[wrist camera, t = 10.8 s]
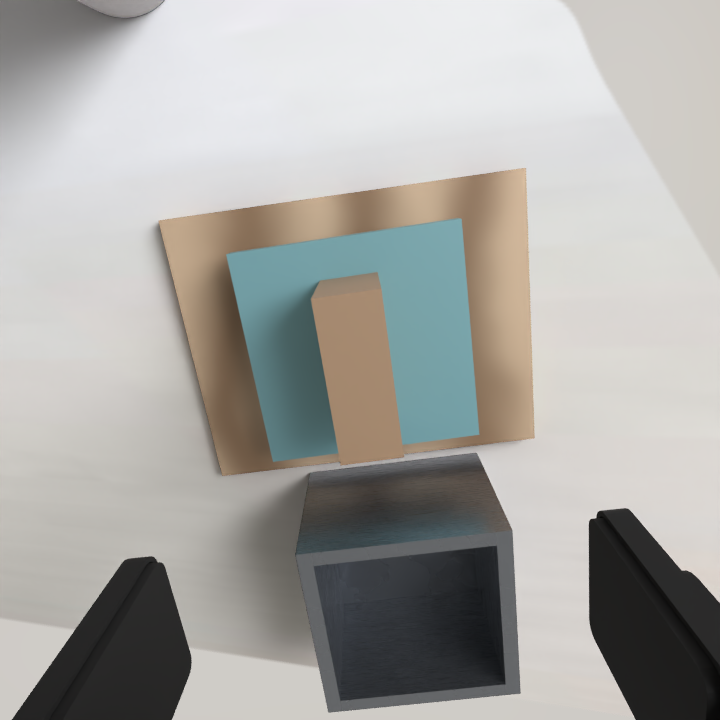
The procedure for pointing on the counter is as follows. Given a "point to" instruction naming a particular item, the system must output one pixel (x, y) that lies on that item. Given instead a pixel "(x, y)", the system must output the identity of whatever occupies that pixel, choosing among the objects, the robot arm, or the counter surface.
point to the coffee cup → (122, 7)
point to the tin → (409, 583)
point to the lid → (360, 341)
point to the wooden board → (343, 217)
